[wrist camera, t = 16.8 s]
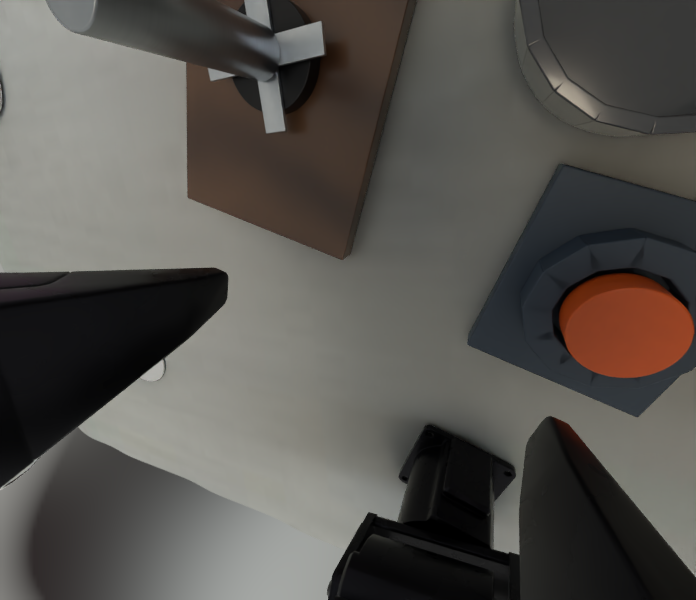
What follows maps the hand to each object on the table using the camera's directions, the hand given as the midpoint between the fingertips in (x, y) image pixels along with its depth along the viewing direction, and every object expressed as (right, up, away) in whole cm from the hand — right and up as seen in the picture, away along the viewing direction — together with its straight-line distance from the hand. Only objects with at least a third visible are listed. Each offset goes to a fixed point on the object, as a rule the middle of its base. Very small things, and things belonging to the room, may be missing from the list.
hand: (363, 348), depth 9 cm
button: (+11, +1, +6) cm, 12 cm away
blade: (-4, +13, +8) cm, 16 cm away
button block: (+12, +2, +8) cm, 14 cm away
